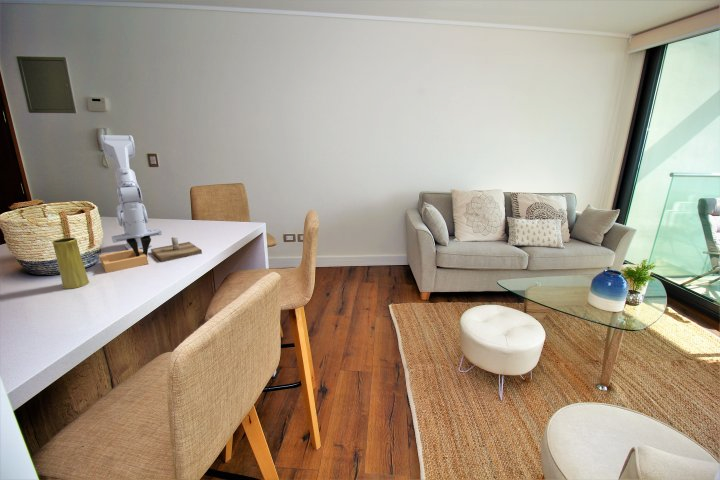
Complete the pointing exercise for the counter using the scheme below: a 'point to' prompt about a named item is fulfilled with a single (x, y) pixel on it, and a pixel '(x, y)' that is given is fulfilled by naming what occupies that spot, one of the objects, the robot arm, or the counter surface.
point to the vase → (70, 263)
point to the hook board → (175, 250)
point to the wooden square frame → (122, 260)
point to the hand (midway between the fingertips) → (142, 257)
